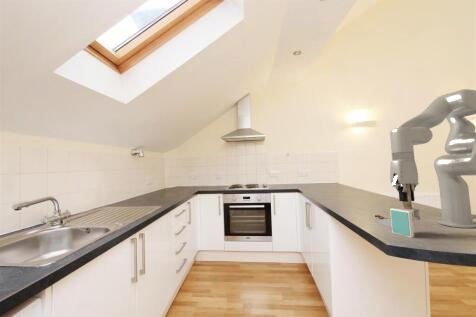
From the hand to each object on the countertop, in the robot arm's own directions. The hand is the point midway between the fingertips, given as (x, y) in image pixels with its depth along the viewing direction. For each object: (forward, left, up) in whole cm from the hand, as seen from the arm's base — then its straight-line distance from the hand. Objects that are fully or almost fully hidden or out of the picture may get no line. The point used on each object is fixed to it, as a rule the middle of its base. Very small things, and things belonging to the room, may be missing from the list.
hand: (406, 200), depth 92 cm
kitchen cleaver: (-8, -19, -14) cm, 25 cm away
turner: (0, 0, -7) cm, 7 cm away
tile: (+4, 0, -13) cm, 14 cm away
